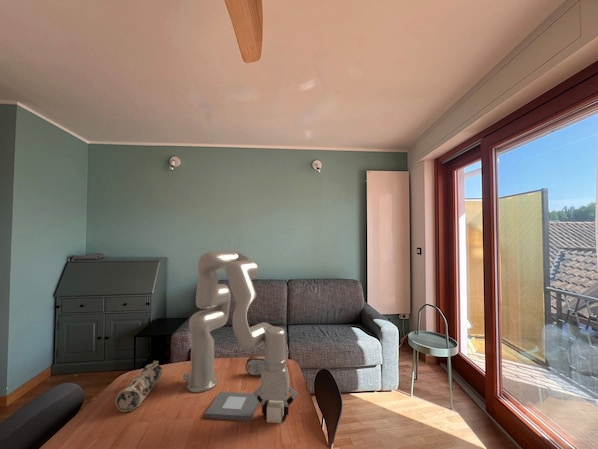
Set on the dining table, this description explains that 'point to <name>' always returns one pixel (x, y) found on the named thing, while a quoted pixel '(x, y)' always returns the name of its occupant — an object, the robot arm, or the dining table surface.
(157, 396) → the dining table surface
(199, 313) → the robot arm
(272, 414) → the off-white block
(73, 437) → the dining table surface
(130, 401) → the pencil case
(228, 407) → the grey tray
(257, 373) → the tin
